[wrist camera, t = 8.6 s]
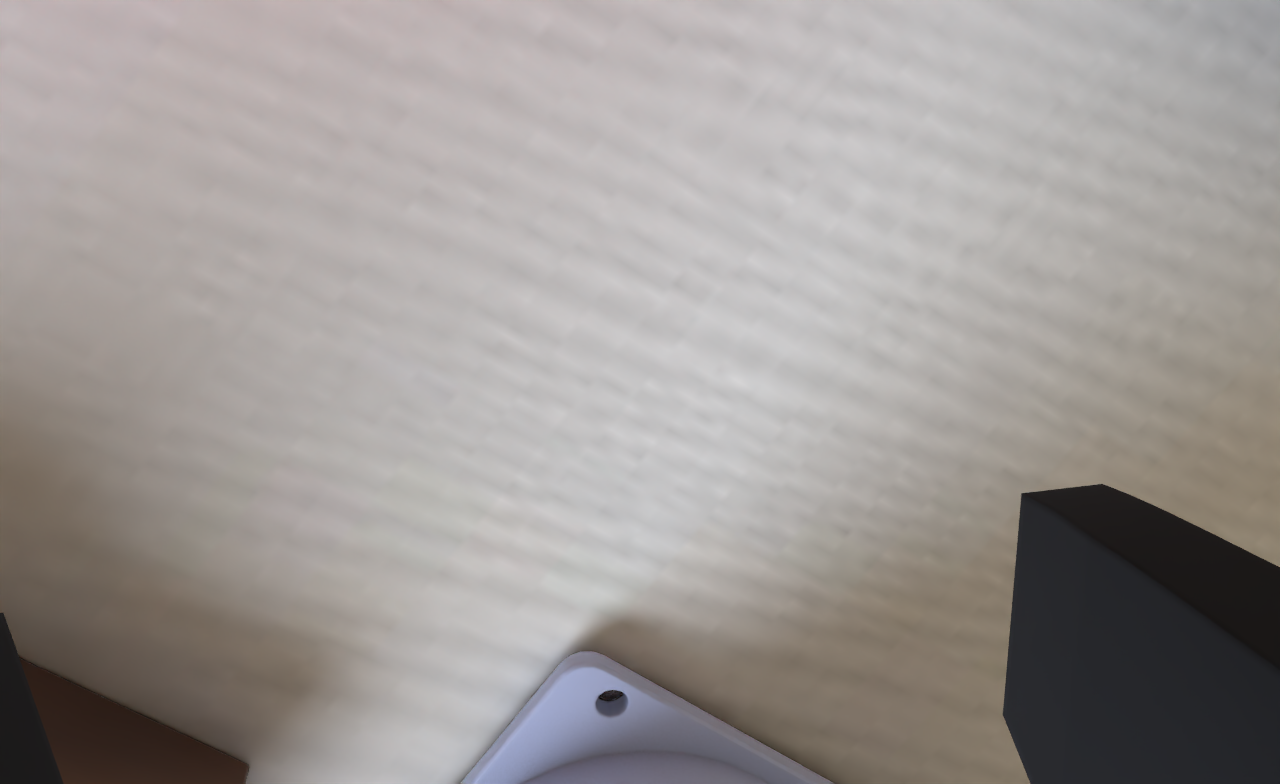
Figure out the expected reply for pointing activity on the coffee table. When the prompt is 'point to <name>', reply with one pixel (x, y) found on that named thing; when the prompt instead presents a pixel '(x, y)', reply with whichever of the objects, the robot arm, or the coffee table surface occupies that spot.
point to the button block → (120, 740)
